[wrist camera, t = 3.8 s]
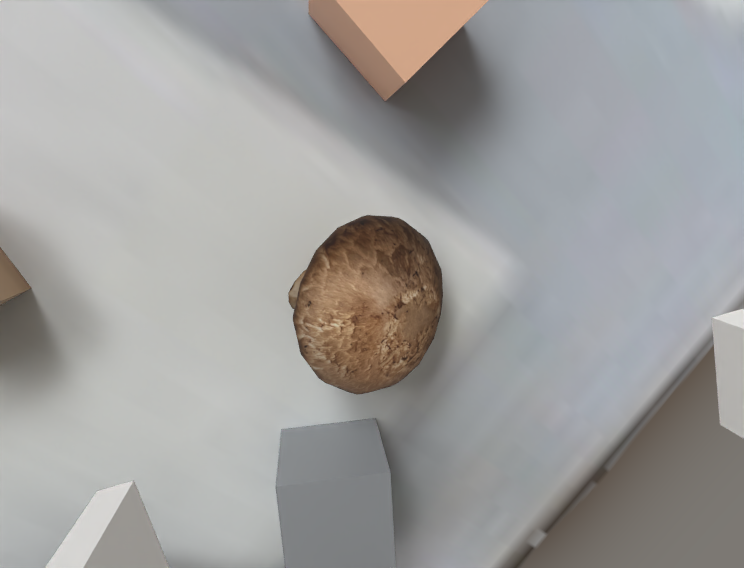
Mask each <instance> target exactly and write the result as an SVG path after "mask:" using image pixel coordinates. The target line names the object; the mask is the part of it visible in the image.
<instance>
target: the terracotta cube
mask: <svg viewBox="0 0 744 568" xmlns="http://www.w3.org/2000/svg"><path fill="white" fill-rule="evenodd" d="M487 1H488V0H309V15H310V16H311V17H312V18H313V19H314V20H315V22H316V23H317V24H318V25H319V26H320V27H321V28H322V30H323V31H324V32H325V33H326V34H327V35H328V37H329V38H330V39H331V40H332V41H333V42H334V43H335V45H336V46H337V47H338V48H339V49H340V50H341V51H342V53H343V54H344V55H345V56H346V57H347V58H348V59H349V61H350V62H351V63H352V64H353V65H354V66H355V68H356V69H357V70H358V71H359V72H360V73H361V74H362V76H363V77H364V78H365V79H366V80H367V81H368V82H369V84H370V85H371V86H372V87H373V88H374V89H375V91H376V92H377V93H378V94H379V95H380V96H381V97H382V99H383V100H384V101H386V100H387V99H388V98H390V97H391V96H392V95H393V94H394V93H395V92H396V91H397V90H398V89H399V88H400V87H401V86H403V85H404V84H405V83H406V82H407V81H408V80H409V79H410V78H411V77H412V76H413V75H414V74H415V73H416V72H417V71H418V70H419V69H420V68H421V67H422V66H423V65H424V64H425V63H426V62H427V61H428V60H429V59H430V58H431V57H432V56H433V55H434V54H435V53H436V52H437V51H438V50H439V49H440V48H441V47H442V46H443V45H444V44H445V43H446V42H447V41H448V40H449V39H450V38H451V37H452V36H453V35H454V34H455V33H456V32H457V31H458V30H459V29H460V28H461V27H462V26H463V25H464V24H465V23H466V22H467V21H468V20H469V19H470V18H471V17H472V16H473V15H474V14H475V13H476V12H477V11H478V10H479V9H480V8H481V7H482V6H483V5H484V4H485V3H486V2H487Z"/></svg>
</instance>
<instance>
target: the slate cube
mask: <svg viewBox="0 0 744 568" xmlns="http://www.w3.org/2000/svg"><path fill="white" fill-rule="evenodd" d="M276 493H277V502H278V510H279V519H280V527H281V536H282V544H283V553H284V561H285V568H395V567H396V558H395V541H394V524H393V507H392V489H391V472H390V468H389V465H388V461H387V458H386V454H385V450H384V447H383V443H382V440H381V436H380V433H379V429H378V425H377V422H376V418H373V419H364V420H356V421H347V422H339V423H331V424H322V425H314V426H305V427H297V428H288V429H281V439H280V449H279V459H278V469H277V479H276Z"/></svg>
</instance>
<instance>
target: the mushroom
mask: <svg viewBox="0 0 744 568" xmlns="http://www.w3.org/2000/svg"><path fill="white" fill-rule="evenodd" d="M288 294H289V303H290V305H291V307H292V308H293V309H294V314H293V322H294V326H295V330H296V335H297V339H298V344H299V348H300V352H301V355H302V356H303V357H304V359H305V360H306V361H307V363H308V364H309V365H310V367H311V368H312V370H313V371H314V372H315V374H316V375H317V376H318V378H319V379H321V380H322V381H324V382H325V383H328V384H330V385H333V386H335V387H337V388H340V389H342V390H345V391H347V392H351V393H354V394H363V393H368V392H372V391H375V390H379V389H383V388H386V387H390V386H392V385H395V384H396V383H398V382H399V381H401V380H402V379H403V378H404V377H406V376H407V375H408V374H409V373H410V372H411V371H412V370H413V369H414V368H415V367H417V366H418V365H419V363H420V361H421V360H422V358H423V356H424V354H425V353H426V351H427V349H428V347H429V346H430V344H431V342H432V340H433V339H434V336H435V332H436V329H437V325H438V322H439V318H440V315H441V307H442V298H443V290H442V273H441V268H440V266H439V264H438V261H437V259H436V257H435V255H434V252H433V250H432V248H431V246H430V243H429V241H428V240H427V239H426V238H425V237H424V236H423V235H421V234H420V233H419V232H417V231H416V230H415V229H414V228H412V227H411V226H410V225H408V224H407V223H406V222H404V221H403V220H401V219H399V218H395V217H387V216H371V215H366V216H363V217H360V218H358V219H356V220H354V221H352V222H349V223H347V224H345V225H343V226H341V227H338V228H337V229H336V230H335V231H334V232H333V233H332V234H331V235H330V236H329V237H328V238H327V240H326V241H325V242H324V243H323V244H322V245H321V246H320V247H319V248H318V249H317V250H316V252H315V254H314V256H313V258H312V260H311V262H310V264H309V266H308V268H307V270H305V271H304V272H303V273H302V274H301V275H300V276H299V277H298V279H297V280H296V281H295V282H294V284H293V286H292V288H291V289H290V291H289V293H288Z"/></svg>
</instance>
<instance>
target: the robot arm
mask: <svg viewBox="0 0 744 568" xmlns="http://www.w3.org/2000/svg"><path fill="white" fill-rule="evenodd" d="M712 326H713V339H714V352H715V365H716V377H717V391H718V403H719V416H720V425H722V426H723V427H725V428H727V429H729V430H730V431H732V432H733V433H735V434H737V435H738V436H740V437H742V438H743V439H744V309H741V310H737V311H733V312H730V313H726V314H723V315H719V316H716V317H712ZM45 568H169V566H168V563H167V561H166V558H165V556H164V553H163V551H162V548H161V546H160V543H159V541H158V539H157V536H156V534H155V531H154V529H153V526H152V524H151V521H150V519H149V516H148V514H147V512H146V509H145V507H144V504H143V502H142V499H141V497H140V494H139V492H138V489H137V487H136V485H135V482H134V481H130V482H126V483H123V484H119V485H116V486H112V487H109V488H105V489H102V490H98V491H97V492H96V493H95V495H94V496H93V498H92V499H91V501H90V502H89V503H88V505H87V506H86V508H85V509H84V511H83V512H82V514H81V515H80V517H79V518H78V520H77V521H76V523H75V524H74V526H73V527H72V529H71V530H70V531H69V533H68V534H67V536H66V537H65V539H64V540H63V542H62V543H61V545H60V546H59V548H58V549H57V551H56V552H55V554H54V555H53V557H52V558H51V560H50V561H49V562H48V564H47V565H46V567H45Z"/></svg>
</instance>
